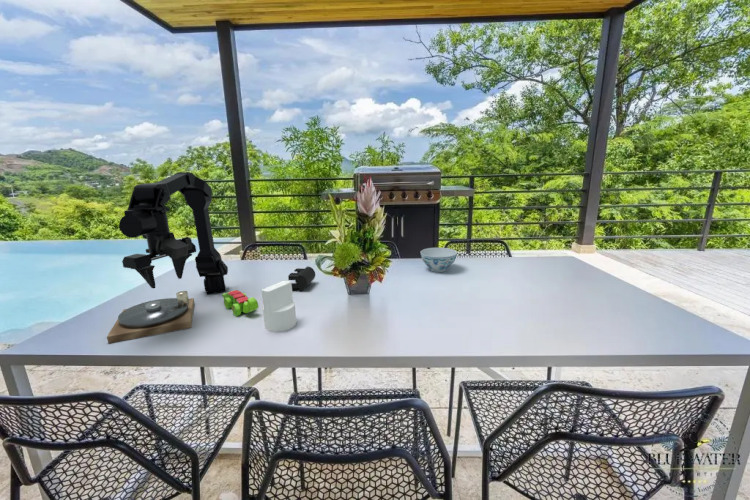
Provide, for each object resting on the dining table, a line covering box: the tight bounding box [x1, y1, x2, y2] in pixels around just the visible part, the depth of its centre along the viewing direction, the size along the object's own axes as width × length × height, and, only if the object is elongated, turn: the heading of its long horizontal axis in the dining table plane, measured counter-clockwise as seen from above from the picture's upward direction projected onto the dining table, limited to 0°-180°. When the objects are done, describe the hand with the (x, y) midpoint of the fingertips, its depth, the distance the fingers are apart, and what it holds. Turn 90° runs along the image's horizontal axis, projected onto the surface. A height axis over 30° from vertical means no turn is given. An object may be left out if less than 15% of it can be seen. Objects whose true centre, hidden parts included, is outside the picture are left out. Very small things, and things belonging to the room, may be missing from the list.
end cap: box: [287, 266, 316, 292], centre depth 132 cm, size 10×7×7 cm
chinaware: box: [420, 247, 458, 273], centre depth 147 cm, size 15×15×8 cm
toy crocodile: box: [222, 289, 259, 317], centre depth 114 cm, size 20×7×6 cm, turn 41°
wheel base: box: [106, 297, 195, 345], centre depth 107 cm, size 20×20×2 cm
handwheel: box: [117, 290, 190, 328], centre depth 106 cm, size 18×18×6 cm
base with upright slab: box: [261, 280, 297, 333], centre depth 101 cm, size 9×9×12 cm
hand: (167, 283), depth 101 cm, fingers open, 8 cm apart
